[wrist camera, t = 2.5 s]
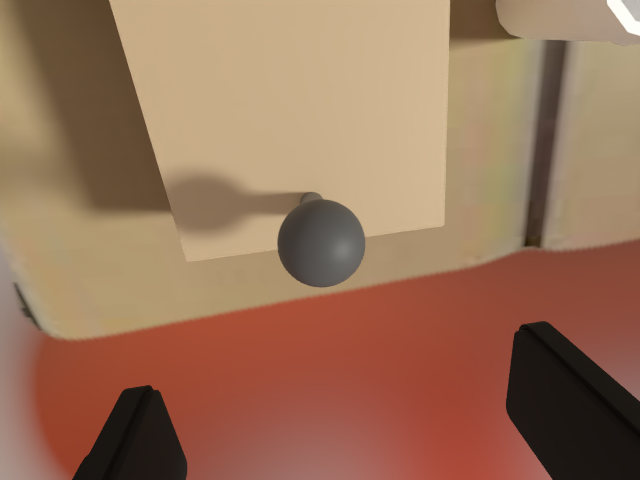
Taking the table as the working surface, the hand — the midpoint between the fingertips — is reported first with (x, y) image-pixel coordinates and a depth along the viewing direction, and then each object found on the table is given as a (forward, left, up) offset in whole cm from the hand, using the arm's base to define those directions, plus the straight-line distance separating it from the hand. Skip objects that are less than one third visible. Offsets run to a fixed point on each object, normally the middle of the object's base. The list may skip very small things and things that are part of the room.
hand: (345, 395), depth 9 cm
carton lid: (-7, 0, -17) cm, 18 cm away
